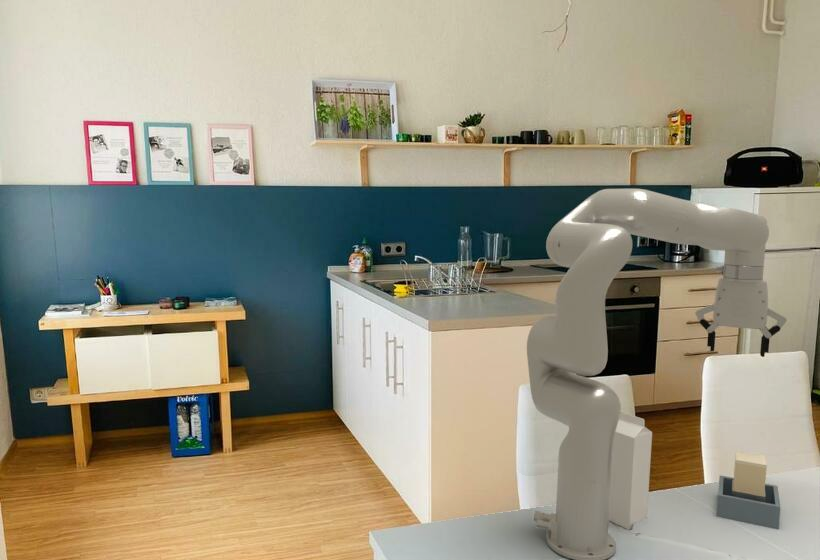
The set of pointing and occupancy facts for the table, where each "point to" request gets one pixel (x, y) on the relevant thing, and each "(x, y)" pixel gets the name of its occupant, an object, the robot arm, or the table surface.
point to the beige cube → (750, 473)
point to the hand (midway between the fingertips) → (736, 352)
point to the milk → (630, 471)
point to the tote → (748, 505)
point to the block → (747, 495)
